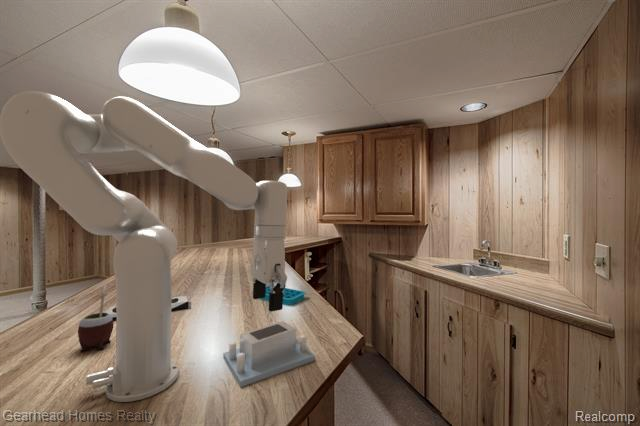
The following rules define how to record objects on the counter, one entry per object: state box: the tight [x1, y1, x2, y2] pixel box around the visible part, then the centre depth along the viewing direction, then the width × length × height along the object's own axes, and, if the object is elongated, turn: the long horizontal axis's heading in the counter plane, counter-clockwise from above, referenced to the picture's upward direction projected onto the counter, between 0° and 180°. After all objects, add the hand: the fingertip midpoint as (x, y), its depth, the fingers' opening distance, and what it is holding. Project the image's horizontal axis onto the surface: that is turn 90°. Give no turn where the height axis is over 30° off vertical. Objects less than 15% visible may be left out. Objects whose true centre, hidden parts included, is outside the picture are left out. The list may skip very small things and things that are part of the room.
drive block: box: [239, 320, 297, 369], centre depth 65 cm, size 12×6×6 cm, turn 132°
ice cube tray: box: [259, 284, 307, 306], centre depth 111 cm, size 12×20×3 cm, turn 60°
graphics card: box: [105, 295, 192, 322], centre depth 95 cm, size 10×3×25 cm
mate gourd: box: [77, 283, 114, 354], centre depth 70 cm, size 8×8×15 cm
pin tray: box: [222, 325, 316, 388], centre depth 65 cm, size 18×13×5 cm
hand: (266, 303), depth 64 cm, fingers open, 9 cm apart
